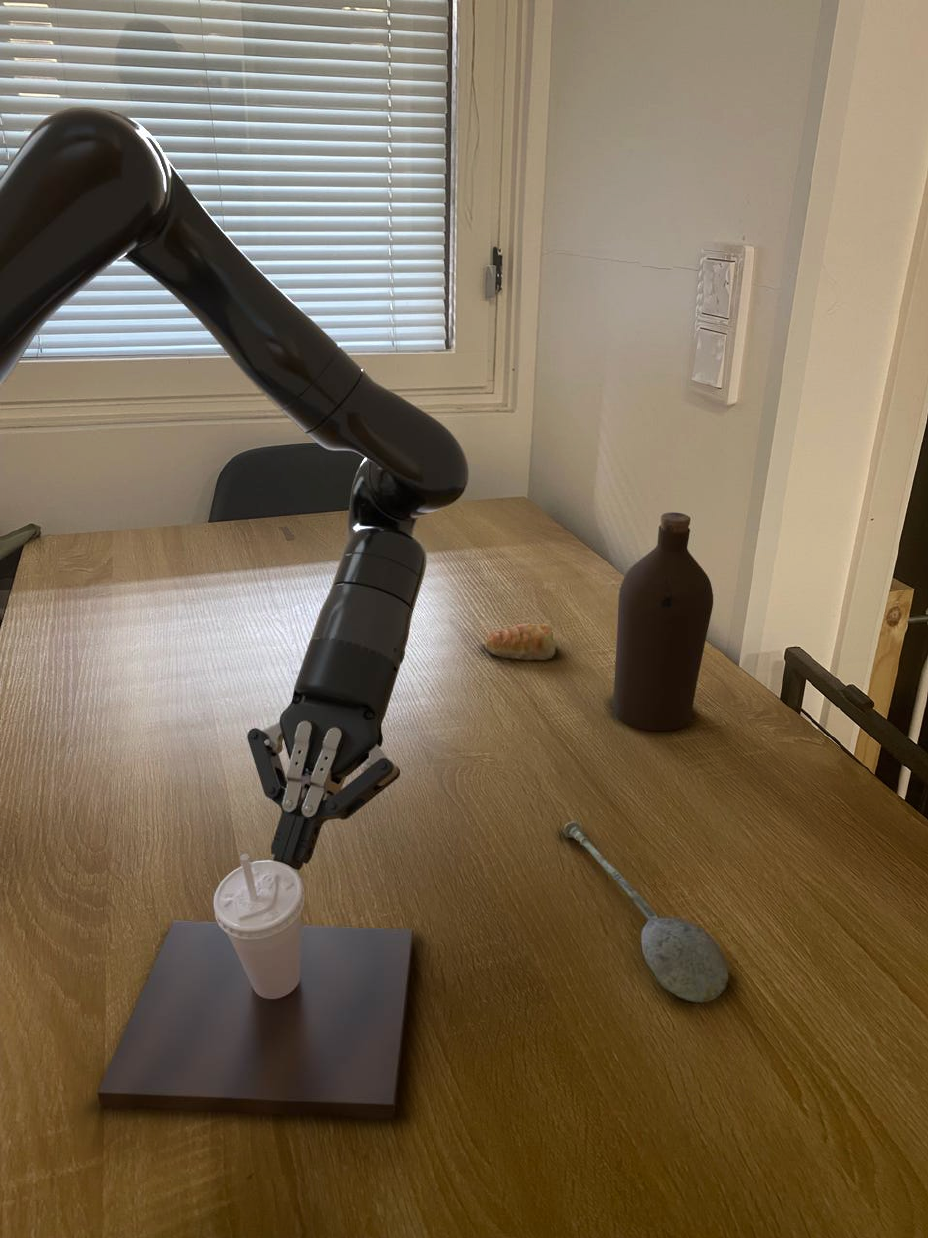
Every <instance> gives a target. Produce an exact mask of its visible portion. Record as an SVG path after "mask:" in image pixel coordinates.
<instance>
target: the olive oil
mask: <svg viewBox="0 0 928 1238" xmlns="http://www.w3.org/2000/svg"><path fill="white" fill-rule="evenodd" d="M690 524H691V517H690V516H689V515H687V514H685V513H681V512H673V511H672V512H665V513H663V514H661V516H660V525H659V527H658V531H657V544H656V546H655V548H653V549H652V550H651V551H650V552H648V553H647V554H646V555H644V556H643V557H642V558H641V559H640V560H638V561H637V562H636V563H634V564H633V565H632V566H631V567H630V568H629V569H628V570H627V572H626V573H625V576H624V577H623V580H622V582H621V584H620V586H619V587H620V588H619V592H618V601H617V603H618V604H617V625H616V645H615V646H616V647H615V649H616V650H615V662H614V682H613V695H612V711H613V713H614V715H615V716H616V717H617V718H618V719H619V720H620V721H621V722H622V723H624V724H626V725H628V726H630V727H633V728H635V729H638V730H642V731H646V732H653V733H665V732H672V731H676V730H679V729H681V728H683V727H685V726H686V725H687V724H688V723H689V722H690V720H691V718H692V712H693V707H694V701H695V697H696V690H697V684H698V679H699V675H700V671H701V670H700V669H701V664H702V660H703V654H704V650H705V645H706V641H707V636H708V631H709V626H710V622H711V617H712V612H713V609H714V608H713V607H714V591H713V587H712V582H711V580H710V578H709V576H708V574H707V573H706V572H705V570H704V569H703V568H702V566H701V565H700V564H699V563H698V561H697V560H696V559H695V558H694V557H693V556H692V554H691V553H690V551H689V549H688V546H689V540H690V532H691V529H690Z"/></svg>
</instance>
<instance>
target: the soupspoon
mask: <svg viewBox="0 0 928 1238" xmlns="http://www.w3.org/2000/svg"><path fill="white" fill-rule="evenodd" d="M580 827H581V826H580V824H579V822H578V821H575V820H574V821H573V820H572V821H570V822H568V823H566V824H565V825H564V827H563V828H562V829H563V830H562V832H563V834H564V836H565V838H569V839H574V840H575V841H577V842H578V843H580V846H582V847H584V848H585V849H586V850H587V851H588V853H590V855H591V856H592V857H593V858H594V859H595V860H596V862H597V863H599V865H600V866H601V867H602V868H603V870H605V871H606V873H608V875H609V876H610V877H611V878H612V879H613V880H614V881H615V882H616V883H617V884H618V886H619V887H620V888H621V889H622V890H623V892H625V894H626V895H627V896H628V897H629V899H630V900H631V901H632V903H633V904H634V905H635V906H636V908H637V909H638V910H639V911H640V912H641V914H642V915H643V916H644V918H645V920H647V922H646V924H645V925H643V928H642V930H641V933H640V941H641V942H640V943H641V944H640V945H641V950H642V955H643V957H644V960H645V962H646V964H647V965H648V967H649V969H650V970H651V971H652V973H653V974H654V976H655V978H656V980H658V982H659V984H661V986H662V987H663V988H664V989H666V991H668V992H670V993H672V994H673V995H675V996H676V997H677V998H680V999H683V1000H685V1001H687V1002H692V1003H702V1004H703V1003H709V1002H711V1001H713V1000H716V999H717V998H719V996H721V995H722V993H724V991H725V989H726V987H727V986H728V983H729V982H728V981H729V969H728V963H727V960H726V957H725V955H724V953H723V951H722V950H721V948H720V946H719V944H718V943H717V942H716V941H715V939H713V937H712V936H711V935H710V934H708V932H706V931H705V930H704V929H703V928H702V927H700V926H698V925H696V924H695V923H693V922H691V921H688V920H685V919H682V918H678V917H671V916H659V915H658V914H657V913H656V912H655V911H654V910H653V908H652V907H651V906H650V905H649V903H648V902H647V901H646V900H645V899H644V898H643V897H642V895H640V893H638V891H637V890H636V889H635V888H634V887H633V886H632V885H631V883H629V882H628V881H627V879H626V878H625V877H624V876H623V875H622V874H621V873H620V872H619V871H618V870H617V869H616V868H615V867H614V866H613V865H612V864H611V863H610V862H609V861H608V860H607V859H606V858H605V856H603V855H602V854H601V853H600V852H599V851H598V850H597V849H596V848H595V847H594V846H593V845H592V844H591V840H590V839H589V838H588V837H586V836H585V834H584V833H583V831H581V828H580Z"/></svg>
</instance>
